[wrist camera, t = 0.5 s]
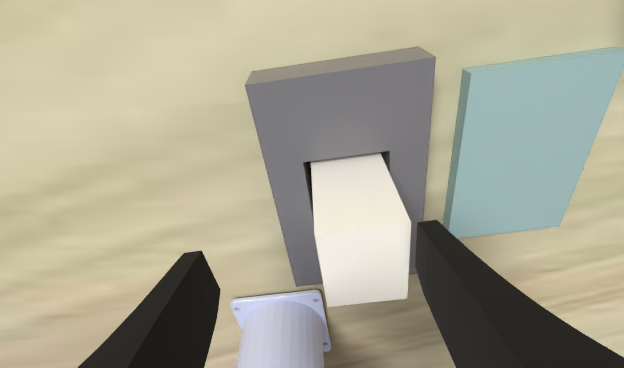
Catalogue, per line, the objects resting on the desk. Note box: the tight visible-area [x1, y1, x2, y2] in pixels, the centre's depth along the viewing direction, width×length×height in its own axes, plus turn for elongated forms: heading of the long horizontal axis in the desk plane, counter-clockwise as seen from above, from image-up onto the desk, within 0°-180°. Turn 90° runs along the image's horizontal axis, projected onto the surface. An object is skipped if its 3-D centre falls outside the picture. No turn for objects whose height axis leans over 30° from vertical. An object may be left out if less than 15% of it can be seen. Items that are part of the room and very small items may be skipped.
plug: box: [311, 152, 411, 307], centre depth 18 cm, size 5×4×8 cm
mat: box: [443, 47, 624, 238], centre depth 20 cm, size 12×8×1 cm, turn 8°
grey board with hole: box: [245, 47, 436, 287], centre depth 20 cm, size 15×9×2 cm, turn 8°
